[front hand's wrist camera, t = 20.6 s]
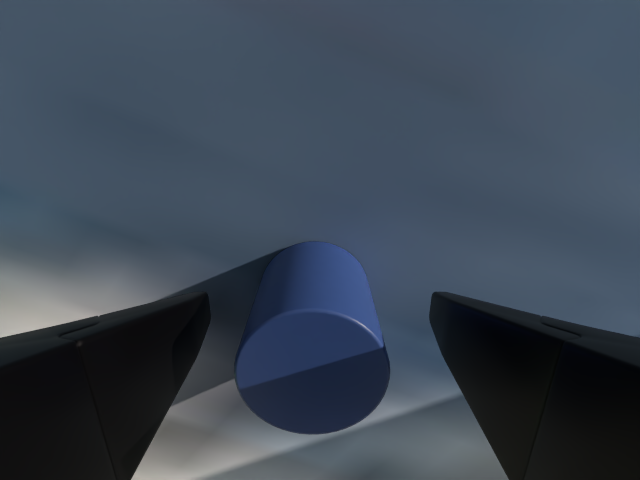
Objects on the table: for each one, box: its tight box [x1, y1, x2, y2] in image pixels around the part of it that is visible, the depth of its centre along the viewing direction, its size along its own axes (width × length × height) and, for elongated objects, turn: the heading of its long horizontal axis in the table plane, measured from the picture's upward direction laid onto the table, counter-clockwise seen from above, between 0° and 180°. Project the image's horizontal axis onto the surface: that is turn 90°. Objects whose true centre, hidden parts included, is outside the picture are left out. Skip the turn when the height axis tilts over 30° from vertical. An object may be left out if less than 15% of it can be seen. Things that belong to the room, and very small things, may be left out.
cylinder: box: [234, 242, 390, 434], centre depth 10 cm, size 4×4×4 cm
